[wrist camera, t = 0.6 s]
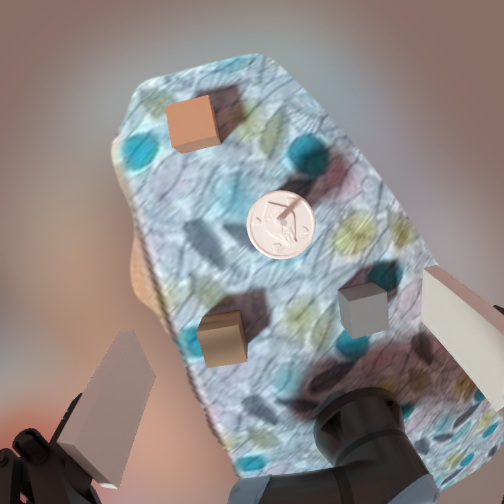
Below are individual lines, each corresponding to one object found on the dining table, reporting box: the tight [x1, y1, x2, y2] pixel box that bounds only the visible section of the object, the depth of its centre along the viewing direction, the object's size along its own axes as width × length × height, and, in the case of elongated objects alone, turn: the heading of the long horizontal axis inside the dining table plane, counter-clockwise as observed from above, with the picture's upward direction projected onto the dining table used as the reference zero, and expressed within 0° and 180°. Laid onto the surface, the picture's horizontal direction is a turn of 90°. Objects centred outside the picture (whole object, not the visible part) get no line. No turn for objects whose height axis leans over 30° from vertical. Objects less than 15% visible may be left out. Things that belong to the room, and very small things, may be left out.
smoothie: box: [247, 190, 316, 259], centre depth 30 cm, size 6×6×14 cm
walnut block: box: [196, 310, 248, 368], centre depth 37 cm, size 5×5×5 cm
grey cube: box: [338, 282, 389, 339], centre depth 36 cm, size 5×5×5 cm
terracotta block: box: [165, 95, 221, 154], centre depth 33 cm, size 5×5×5 cm
